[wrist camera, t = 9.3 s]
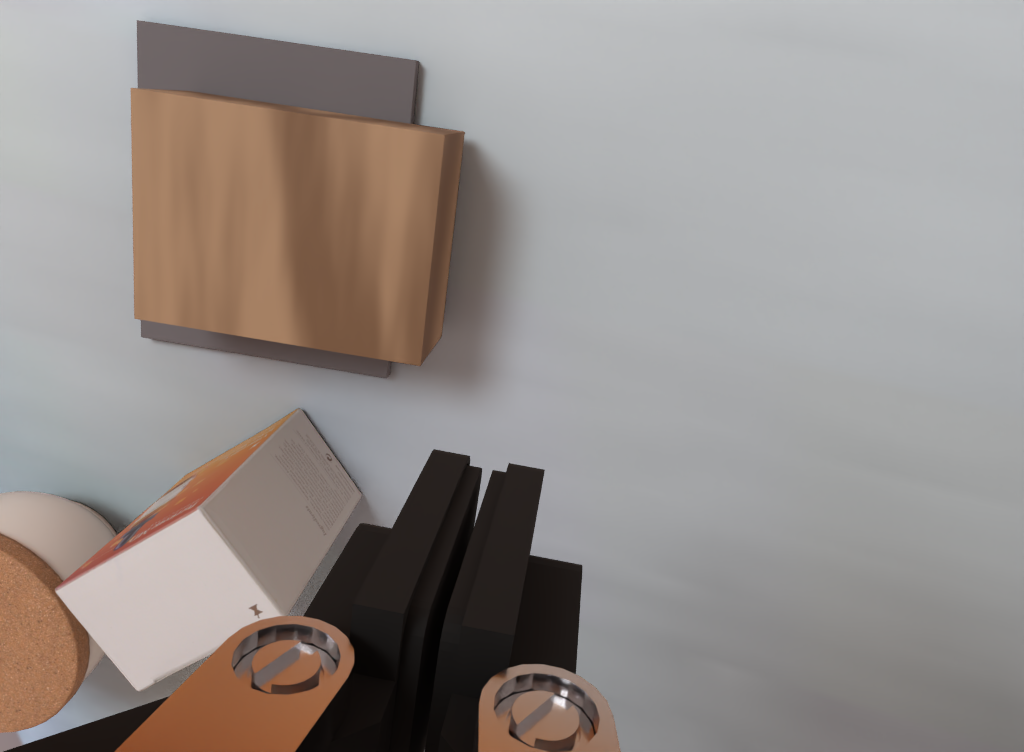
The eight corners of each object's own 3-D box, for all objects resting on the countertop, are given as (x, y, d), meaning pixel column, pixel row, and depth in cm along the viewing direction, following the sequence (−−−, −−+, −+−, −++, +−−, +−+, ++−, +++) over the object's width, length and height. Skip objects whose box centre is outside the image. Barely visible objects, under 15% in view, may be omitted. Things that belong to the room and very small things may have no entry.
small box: (302, 404, 39) (201, 503, 29) (366, 495, 41) (289, 620, 31) (180, 475, 41) (46, 590, 31) (244, 560, 43) (135, 697, 33)
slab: (444, 135, 30) (130, 87, 30) (420, 366, 32) (134, 318, 33) (465, 131, 34) (190, 90, 35) (441, 335, 37) (189, 294, 38)
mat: (419, 61, 34) (415, 60, 33) (389, 374, 38) (386, 378, 38) (144, 21, 34) (137, 20, 34) (148, 333, 39) (141, 337, 38)
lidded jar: (-36, 591, 45) (-191, 708, 36) (-9, 428, 42) (-174, 514, 33) (143, 660, 45) (32, 794, 37) (185, 504, 42) (73, 610, 33)
